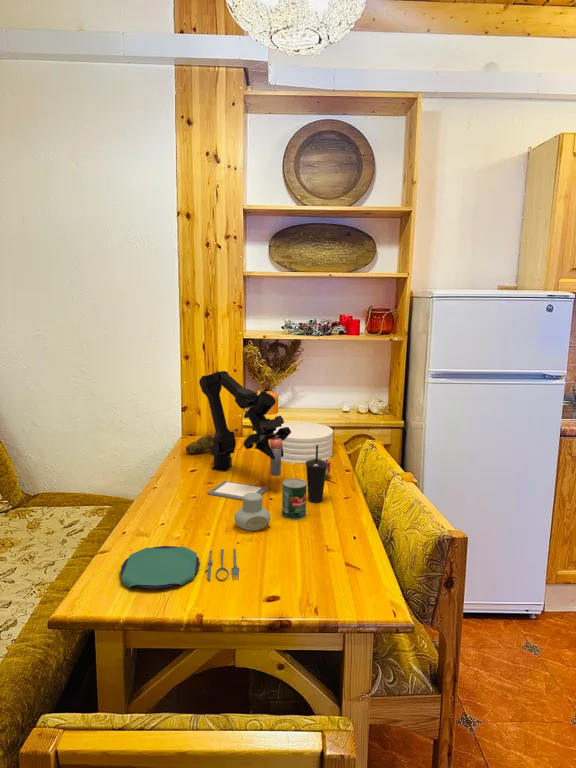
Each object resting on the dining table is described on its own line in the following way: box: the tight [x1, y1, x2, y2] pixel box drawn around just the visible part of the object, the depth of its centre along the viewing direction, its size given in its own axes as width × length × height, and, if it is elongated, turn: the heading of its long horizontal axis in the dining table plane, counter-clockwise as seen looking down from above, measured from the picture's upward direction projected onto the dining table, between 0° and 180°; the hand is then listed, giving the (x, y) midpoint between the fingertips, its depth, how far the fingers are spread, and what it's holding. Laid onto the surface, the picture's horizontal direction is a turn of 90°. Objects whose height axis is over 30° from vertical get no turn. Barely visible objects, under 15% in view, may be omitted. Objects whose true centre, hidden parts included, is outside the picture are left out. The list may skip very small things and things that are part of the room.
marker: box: [269, 438, 282, 477], centre depth 181 cm, size 4×4×13 cm
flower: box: [323, 459, 332, 480], centre depth 197 cm, size 10×9×8 cm
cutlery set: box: [120, 545, 240, 590], centre depth 131 cm, size 20×30×2 cm, turn 97°
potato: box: [185, 434, 214, 455], centre depth 225 cm, size 8×13×8 cm, turn 91°
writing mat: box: [206, 480, 269, 502], centre depth 182 cm, size 18×13×1 cm
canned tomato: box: [281, 478, 308, 521], centre depth 164 cm, size 8×8×11 cm
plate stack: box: [269, 421, 334, 464], centre depth 227 cm, size 28×28×12 cm
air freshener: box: [234, 493, 271, 532], centre depth 155 cm, size 11×8×10 cm
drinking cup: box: [304, 445, 328, 504], centre depth 175 cm, size 8×8×20 cm
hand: (278, 457), depth 180 cm, fingers closed on marker, 4 cm apart
